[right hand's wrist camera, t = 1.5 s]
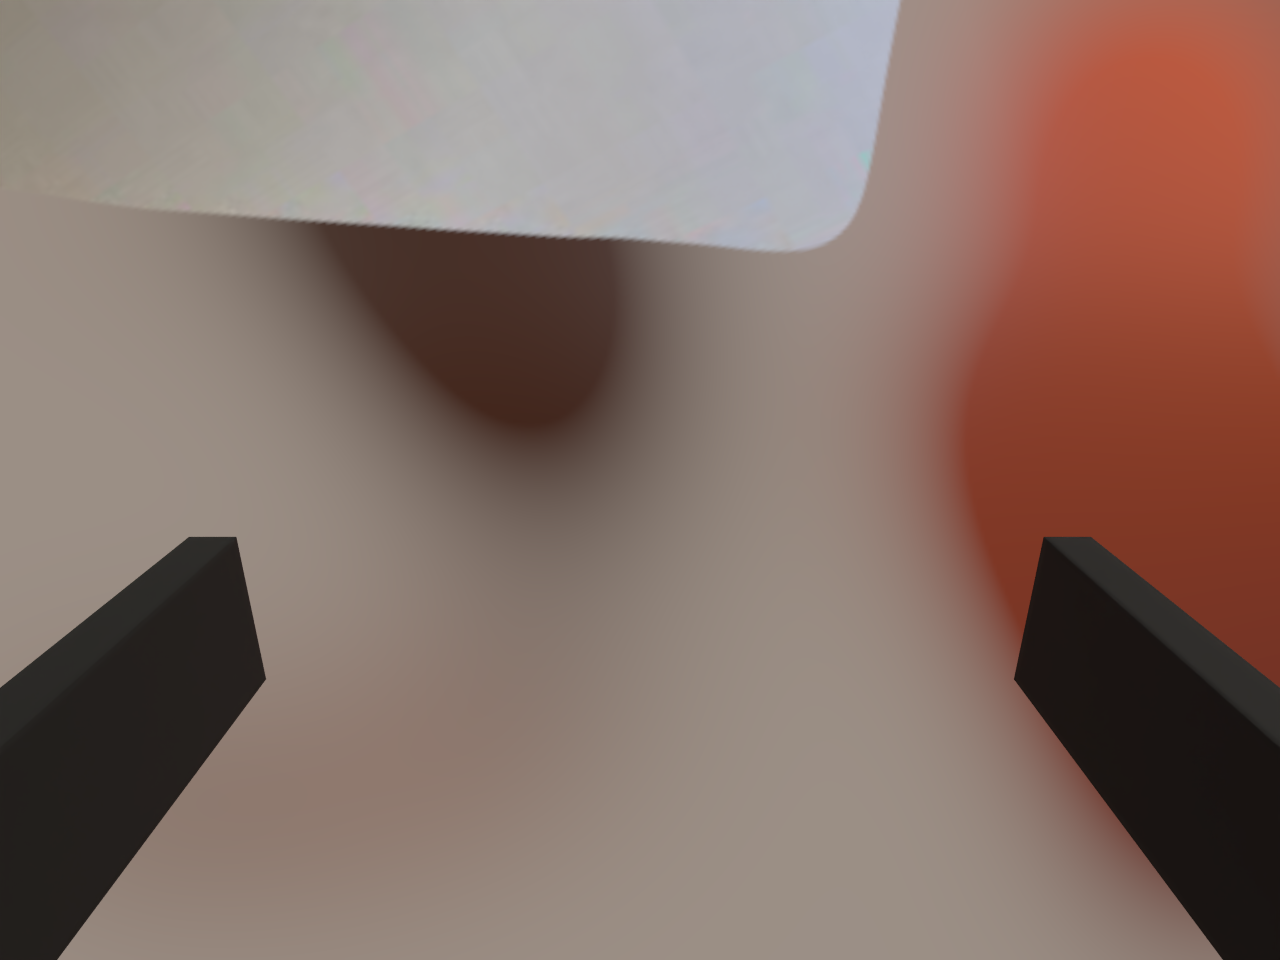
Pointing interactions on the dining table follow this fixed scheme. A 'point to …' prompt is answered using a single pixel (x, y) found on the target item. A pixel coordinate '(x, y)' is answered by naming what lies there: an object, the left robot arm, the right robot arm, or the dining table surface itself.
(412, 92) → the dining table surface
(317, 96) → the dining table surface
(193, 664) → the right robot arm
